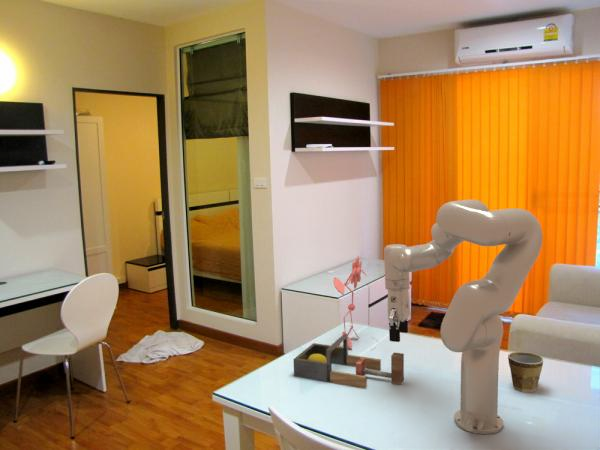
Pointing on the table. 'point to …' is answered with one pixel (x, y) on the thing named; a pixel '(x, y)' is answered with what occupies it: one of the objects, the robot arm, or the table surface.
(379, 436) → the table surface
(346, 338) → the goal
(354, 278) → the figurine
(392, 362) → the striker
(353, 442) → the table surface
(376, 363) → the lane
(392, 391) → the table surface
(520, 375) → the ceramic cup
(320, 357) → the lemon
